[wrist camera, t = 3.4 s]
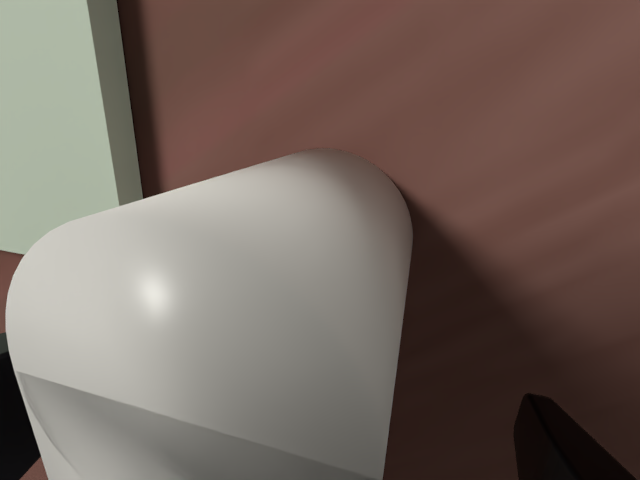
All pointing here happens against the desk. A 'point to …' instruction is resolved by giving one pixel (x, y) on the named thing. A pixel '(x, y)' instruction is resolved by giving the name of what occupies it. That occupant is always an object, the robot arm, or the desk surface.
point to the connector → (219, 328)
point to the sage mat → (62, 117)
